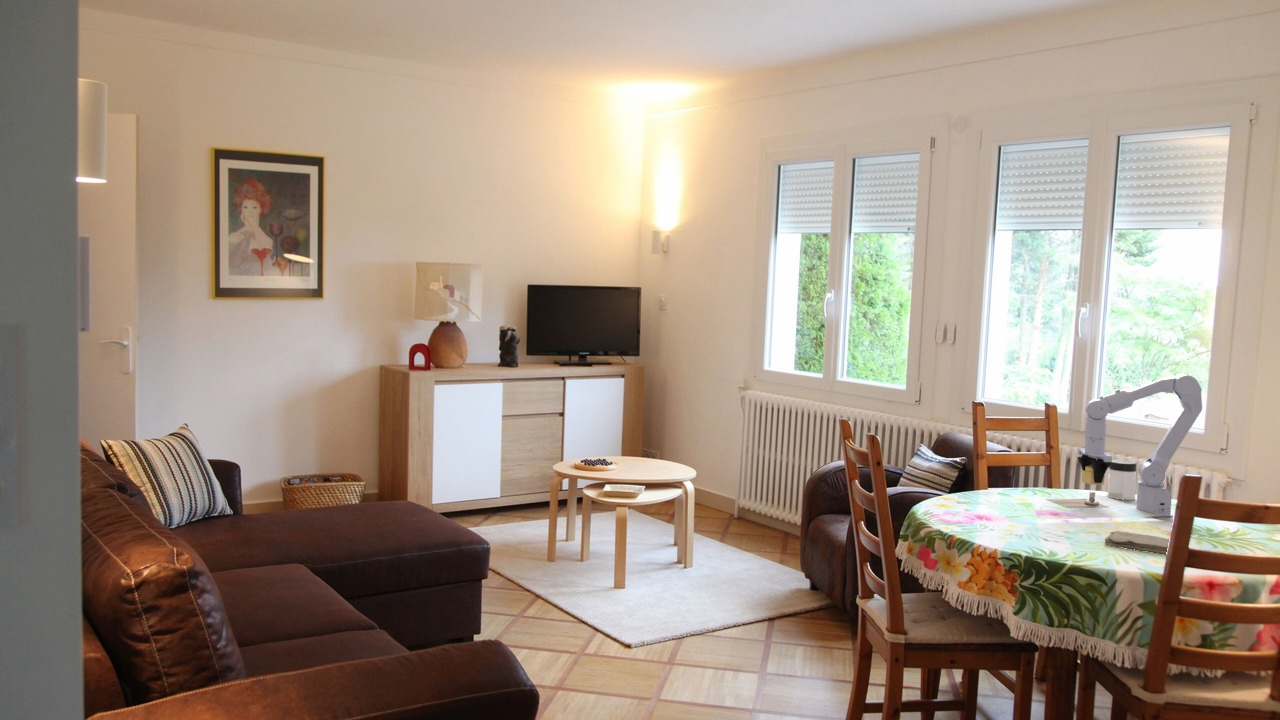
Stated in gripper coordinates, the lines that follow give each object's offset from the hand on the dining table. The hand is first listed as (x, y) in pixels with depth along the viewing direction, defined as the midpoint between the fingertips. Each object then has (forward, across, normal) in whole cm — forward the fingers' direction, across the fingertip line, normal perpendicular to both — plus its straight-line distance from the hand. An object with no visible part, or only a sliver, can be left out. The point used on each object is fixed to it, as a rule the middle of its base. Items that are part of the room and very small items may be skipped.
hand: (1092, 481), depth 298 cm
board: (+8, -2, -4) cm, 10 cm away
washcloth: (+9, +45, -15) cm, 48 cm away
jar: (+9, -14, +20) cm, 26 cm away
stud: (+7, 0, 0) cm, 7 cm away
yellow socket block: (+1, 0, 0) cm, 1 cm away
